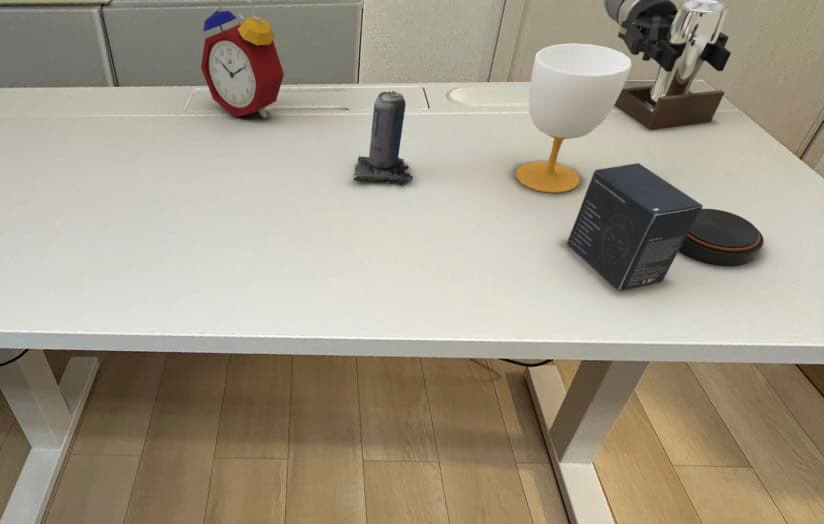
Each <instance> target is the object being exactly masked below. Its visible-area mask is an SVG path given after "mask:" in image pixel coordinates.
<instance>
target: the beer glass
mask: <svg viewBox="0 0 824 524" xmlns="http://www.w3.org/2000/svg"><path fill="white" fill-rule="evenodd" d="M729 9H730V6H729V5H728V4H727V3H726V2H725V3H724V2H722V1H719V0H683V1H681V2H680V4H679V7H678V8H677V10H678V11H677V13H676V15H675V17H674V20H673V22H672V24H671V27H670V29H669V31H668V34H667V37H666V40H665V42H666V43H668V44H669V45H670V46H671V47H672V48H673V49H674V50H675V51H676V52H677V53H678V56H677V59H676V61H675V64H674V66H673V69H672V71H671V72H666V71H665V70H664V69H663V68H662V67H661V66H660V65H659V67H658V70H657V71H658V72H657V75H656V78H655V81H654V83H653V84H652V85H653V87H652V88H651V90H650V92H649V93H648V95H647V97H646V102H645V103H646V104H647V105H648V106H650V107H652V108H653V107H654V108H655V105H656V103H657V100H658V98H659V97H666V96H675V95H683V94H688V92H689V91H690V88H691V86H692V83H693V81H694V79H695V78H696V76H697V74H698V73H699V71H700V69H701V68H702V66H703V65H704V63H705V62H706V61H705V60H706V58H707V57H708V55H709V53H710V52H711V50H712V48H713V46H714V44H715V42H716V40H717V38H718V36H719V33H720V32H721V31H722V28H723V25H724V23H725V21H726V17H727V14H728V11H729Z"/></svg>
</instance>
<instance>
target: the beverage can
mask: <svg viewBox="0 0 824 524" xmlns="http://www.w3.org/2000/svg"><path fill="white" fill-rule="evenodd" d="M406 105H407V104H406V100H405V98H404V95H403V93H400V92H397V91H394V90H392V91H383V92H381V93H379V94H378V95H377V97H376V99H375V100H374V105H373V113H372V124H371V125H372V126H371V134H370V144H369V153H368V156H358V158H357V164H355V165H354V166H355V168H354V173H353V178H352V179H353V180H354V181H355V182H357V183H362V182H364V183H367V181H375V180H378V182H380V181H382V183H388V184H389V183H390V181H392V182H393V183H395V182H396V183H397V184H398V185H403V184H405V183H408V180H407V179H409V181H414V179H413V178H414V175H411V173H409V172H406V171H408V170H409V169H411V167H410V166H409V165H407V164H406V163H405V159H404V158H401V157H399V155H400V146H401V140H402V134H403V126H404V121H405V112H406Z"/></svg>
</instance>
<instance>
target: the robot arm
mask: <svg viewBox="0 0 824 524" xmlns="http://www.w3.org/2000/svg"><path fill="white" fill-rule="evenodd" d="M602 1H603V7H604V10H605V11H606V13H607V15H608V17H609V18H610V19H612V20H613V21H615V22H616V23H617V24H618V25H619V26H620V28H619V31H618V34H617V38H619V39H621V40H623V42H624V44H625V45H626V48H627V49H628V51H629V53H630V54H631V55H633V56H639V54H640V53H643V55H642V57H641V61H645V62H649V61H650V60H654V61H655V62H656V63H657V64H658V65H659V67H660V66H661V67H662V68H663V69H664V70H665V71H666V72H671V71H672V69H673V66H674V64H675V61H676V59H677V56H678V53H677V52H676V51H675V50H674V49H673V48H672V47H671V46H670V45H669V44H668V43H666V42H665V40H666V37H667V34H668V31H669V29H670V27H671V24H672V22H673V20H674V17H675V15H676V13H677V11H678V7H677V5H676V4H675V3H674V2H673V1H672V0H602ZM729 37H730V36H728V35H726V34H725V33H723V32H721V31H720V33H719V36H718V38H717V40H716V42H715V44H714V46H713V48H712V50H711V52H710V53H709V55H708V57H707V58H706V60H705V62H706V63H707V64H709V65H710V66H711V67H712V68H713V69H714V70H715V71H716V72H724V69H725V68H726V65H727V62H728V61H729V58H730V56H731V54H732V52H731V51H730V50H728V49H727V48H726V45H727V42H728V40H729Z"/></svg>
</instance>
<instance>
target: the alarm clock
mask: <svg viewBox="0 0 824 524" xmlns="http://www.w3.org/2000/svg"><path fill="white" fill-rule="evenodd" d="M244 1H245V2H247V3H249V4H250V11H251V16H248V17H247V18H245V17H244V15H243V14H242V12H239V13H238V14H237V15H238V16H239V17H240V19H239V20H238V22H237V23H236V24H237V25H234V26H233V27H230V28H227V29H225V30H224V29H223V26H222V25H225V24H226V23H230V22H232V21H234V20H236V19H238V17H237V16H236V15H235V14H233V13H232V12H231V10H222V0H218V7H217V8H216V7H213V8H212V9H213V11H212V12H213V13H212V14H211V15H210V16H208V17H207V18H206V19H204V23H203V24H204V25H203V30H202V31H203V32H207V31H209V30H212V29H215V28H217V27H219V28H220V32H218V33H216V34H213V35H210V36H208V37H206V38H205V39H204V44H203V51H202V58H201V64H200V69H201V72H202V74H203V77H204V80H205V82H206V84H207V87H208V90H209V93H210V94H211V97H212V100H213V101H215V102H216V103H217V104H218V105H219V106H221V108H223V109H224V110H225V111H226V112H227V113H229V114H230V115H231V116H232V117H234V118H237V117H241V116H242V117H243V116H246V115H251V114H253V113H256V112H258V113H259V114H260V116H261V118H263V119H266V118H267V117H268V116H267V112H266V109H265V108H266V107H268V106H270V105H272V104H274V103H275V102H277V100H278V96H279V92H280V89H281V86H282V82H283V79H284V77H285V76H284V75H285V73H284V70H283V69H284V68H283V67H282V64H281V61H280V55H279V54H278V51H277V47H276V44H275V42H274V39H275V35H274V32H273V31H274V30H273V28H272V26H271V25H270V23H269V22H268V20H265V19H263V18H261V17H262V16H261V17H260V16H256V15H255V14H254V13H255V12H254V5H253V1H252V0H244ZM221 10H222V11H221ZM241 21H242V23H241Z"/></svg>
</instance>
